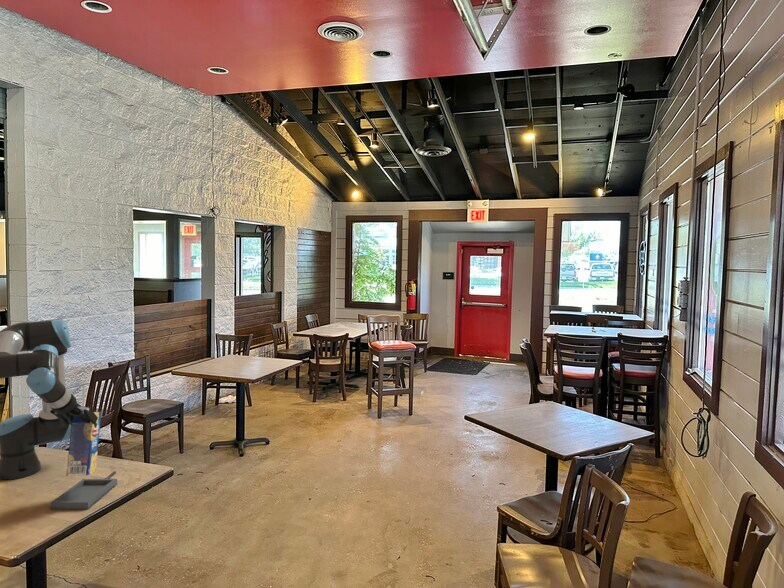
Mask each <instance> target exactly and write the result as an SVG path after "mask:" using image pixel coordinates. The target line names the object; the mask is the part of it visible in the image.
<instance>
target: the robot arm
mask: <svg viewBox="0 0 784 588" xmlns="http://www.w3.org/2000/svg"><path fill="white" fill-rule="evenodd" d="M71 342H72V341H71V337H70V331H69V328H68V324H67V322H66V321H65V320H54V319H53V320H42V321H41V320H40V321H29V322H28V321H26V322H19V323H18V322H17V323H14V324H11V325H9V326H6V327H5V328H3V329H1V330H0V379H5V378H15V377H23V376H27V377H26V379H25V382H26V385H27V386H28V387H29V389H30V391H31V392H33V393H34V394H35V395H37V396H38V397H39V398H40V399H41V406H42V407H41V410H40V411H39V412H38V416H35V417H34V415H33V414H31V413H26V414H25V413H24V414H18V415H15V416H12V417H9V418H6V419H4V420H2V422H0V480H1V479H11V480H18V479H21V478H22V479H23V478H26V477H29V476H31V475H34V474H37V473H38V472H39V471H40V470H41V469H42V467H41V466H42V465H41V464H42V463H41V461H40V460H39V457H38V454H37V453H36V449H35V446H40V445H45V444H52V443H57V442H63V441H68V440H69V441H70V435H71V425H72V416H74V417H78V418H80V419H81V420H83V421H84V422H86V423H90V422H91V423H92V424H94V426H95V428H96V426H97V431H98V429H99V426H98V425H97V423H96V422H97V419H98V417H97V416H96V415H95V414H94V412H95V411H93V410H91V406H90V405H85V406H81V404H79V403H78V399H77V398H76V397H75V395H74V394H73V393H72V392H71V391H70V390H69V389H68V387H66V377H65V376H66V374H65V359H64V356H65V355H66V354H67V353H68V349H69V348H71V347H72V343H71ZM21 352H22V353H21ZM23 352H25V353H23ZM96 433H97V432H96ZM17 478H18V479H17Z"/></svg>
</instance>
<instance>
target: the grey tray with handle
mask: <svg viewBox="0 0 784 588" xmlns="http://www.w3.org/2000/svg"><path fill="white" fill-rule="evenodd" d="M116 473H117V471H116V470H114V471H113V472H111V473H110V474H109V475H108V476H106V477H105V478H82V479H81V480H79V481H78V482H77V483H75V484H74V485H73V486H72V487H70V488H68V489H67V490H66V491H65V492H63V493H62V494H60V495H59V496H58V497H56V498H54V499H53V500H52V501H51V502H50V510H89V509H90V508H92V507H93V506H94V505H95V504H97V503H98V502H99V501H100V500H101V499H103V498H104V497H105V496H106V495H107V494H109V493H110V492H111V491H112V490H113V489H114V488H115V487H117V486H118V478H112V477H113V476H115V474H116ZM111 476H112V477H111ZM116 485H117V486H116ZM112 488H113V489H112ZM110 490H111V491H110ZM109 491H110V492H109Z"/></svg>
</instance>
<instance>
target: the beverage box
mask: <svg viewBox="0 0 784 588" xmlns="http://www.w3.org/2000/svg"><path fill="white" fill-rule="evenodd" d="M93 412H94V414H95V415H96V416H97V417H98V419H97V422H96V423H97V425H98V426H99V429H98V431H97V426H96V428H95V426H94V424H92V423H91V422H90V423H86V422H84V421H83V420H81V419H80V418H78V417H74V416H72V425H71V435H70V439H69V447H68V456H67V458H68V459H67V467H66V473H65V474H66V475H65V476H66V477H75V476H77V477H78V476H89V475H91V474H93V473H95V472H96V471H97V464H98V462H97V461H98V451H99V441H100V429H101V419H102V411H93ZM96 432H97V433H96Z"/></svg>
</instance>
